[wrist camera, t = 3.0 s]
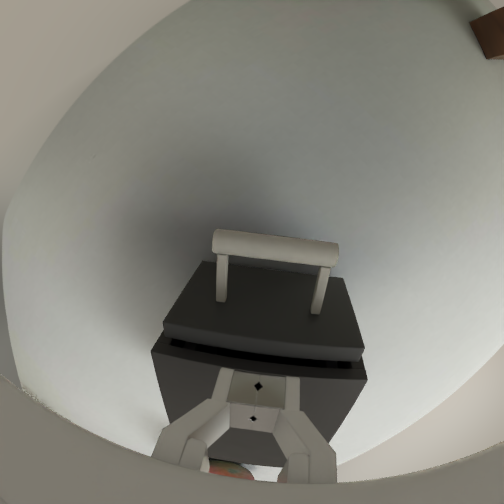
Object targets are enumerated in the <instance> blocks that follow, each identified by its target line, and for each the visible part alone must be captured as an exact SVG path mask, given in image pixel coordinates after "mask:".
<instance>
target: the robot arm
mask: <svg viewBox="0 0 504 504" xmlns="http://www.w3.org/2000/svg"><path fill="white" fill-rule="evenodd" d="M229 427H233V428H240V429H248V430H255V431H262V432H269V433H273V435H274V437H275V439H276V441H277V443H278V444H279V446H280V448H281V450H282V452H283V453H284V455H285V457H286V459H287V461H286V463H285V465H284V467H283V468H282V470H281V472H280V474H279V475H278V480H277V482H268V481H258V480H249V479H242V478H235V477H229V476H223V475H218V474H213V473H208V472H209V468H210V465H209V458H208V451H207V448H208V447H209V446H211V445H212V444H213V443H214V442H215V441H216V440H217V439H218V438H219V437H220V436H222V435H223V434H224V433H225V432H226V431H227V430H228V429H229ZM0 504H504V441H503V442H500V443H499V444H496V445H494V446H492V447H489V448H487V449H485V450H482V451H480V452H477V453H475V454H472V455H470V456H467V457H464V458H461V459H459V460H456V461H453V462H449V463H446V464H443V465H440V466H436V467H433V468H429V469H425V470H421V471H417V472H412V473H408V474H403V475H398V476H392V477H386V478H380V479H372V480H364V481H356V482H355V481H354V482H341V483H337V468H336V453H335V451H334V450H333V449H332V448H331V446H330V445H329V444H328V443H327V441H326V440H325V439H324V437H323V436H322V435H321V434H320V432H319V431H318V430H317V428H316V427H315V426H314V425H313V423H312V422H311V421H310V419H309V418H308V417H307V415H306V414H305V413H304V411H300V379H299V377H289V376H281V375H271V374H262V373H260V374H259V373H253V372H247V371H241V370H235V369H229V368H224V367H222V368H221V369H220V372H219V375H218V378H217V381H216V385H215V388H214V391H213V395H212V398H211V399H206V400H205V401H203V402H202V403H200V404H199V405H198V406H196V407H195V408H193V409H192V410H190V411H189V412H187V413H186V414H185V415H183V416H182V417H180V418H179V419H177V420H176V421H174V422H173V423H171V424H170V425H168V426H167V427H165V428H163V429H162V432H161V434H160V436H159V439H158V441H157V444H156V446H155V448H154V451H153V453H152V456H151V457H150V456H147V455H144V454H141V453H139V452H136V451H133V450H131V449H128V448H125V447H123V446H121V445H118V444H116V443H113V442H111V441H109V440H107V439H104V438H102V437H100V436H98V435H96V434H94V433H92V432H90V431H88V430H86V429H84V428H82V427H80V426H78V425H76V424H74V423H72V422H71V421H69V420H67V419H65V418H64V417H62V416H60V415H58V414H57V413H55V412H53V411H52V410H50V409H49V408H47V407H45V406H44V405H42V404H41V403H39V402H38V401H36V400H35V399H33V398H32V397H30V396H29V395H28V394H26V393H25V392H23V391H22V390H21V389H19V388H18V387H17V386H15V385H14V384H13V383H11V382H10V381H9V380H7V379H6V378H5V377H4V376H3V375H1V374H0Z"/></svg>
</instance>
